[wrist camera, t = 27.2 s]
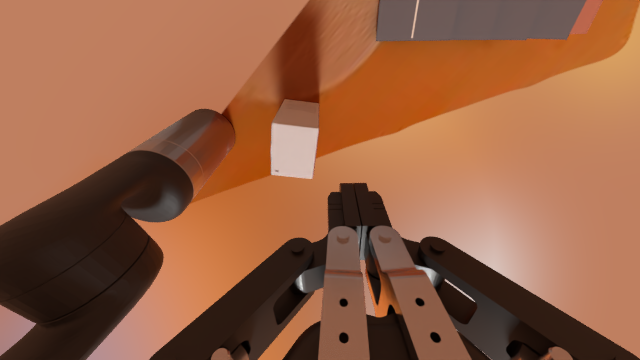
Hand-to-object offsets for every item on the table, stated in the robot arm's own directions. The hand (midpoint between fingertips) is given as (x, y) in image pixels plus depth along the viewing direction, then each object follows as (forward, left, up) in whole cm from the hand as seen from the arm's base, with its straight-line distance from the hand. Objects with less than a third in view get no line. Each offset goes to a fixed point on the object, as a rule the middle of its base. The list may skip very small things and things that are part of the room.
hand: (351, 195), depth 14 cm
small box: (-8, +2, -31) cm, 32 cm away
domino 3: (+17, -10, -30) cm, 36 cm away
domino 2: (+14, -6, -30) cm, 34 cm away
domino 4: (+20, -15, -30) cm, 39 cm away
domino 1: (+11, -1, -30) cm, 32 cm away
